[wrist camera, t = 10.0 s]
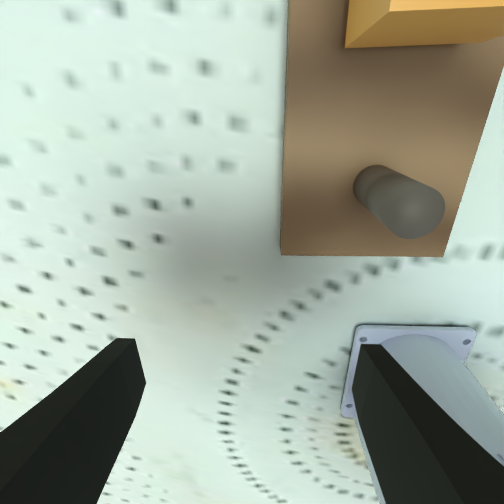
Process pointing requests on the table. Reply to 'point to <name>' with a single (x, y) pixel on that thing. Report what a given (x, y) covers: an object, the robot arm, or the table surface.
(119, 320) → the table surface
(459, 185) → the wooden peg board
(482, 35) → the wooden toy cube
